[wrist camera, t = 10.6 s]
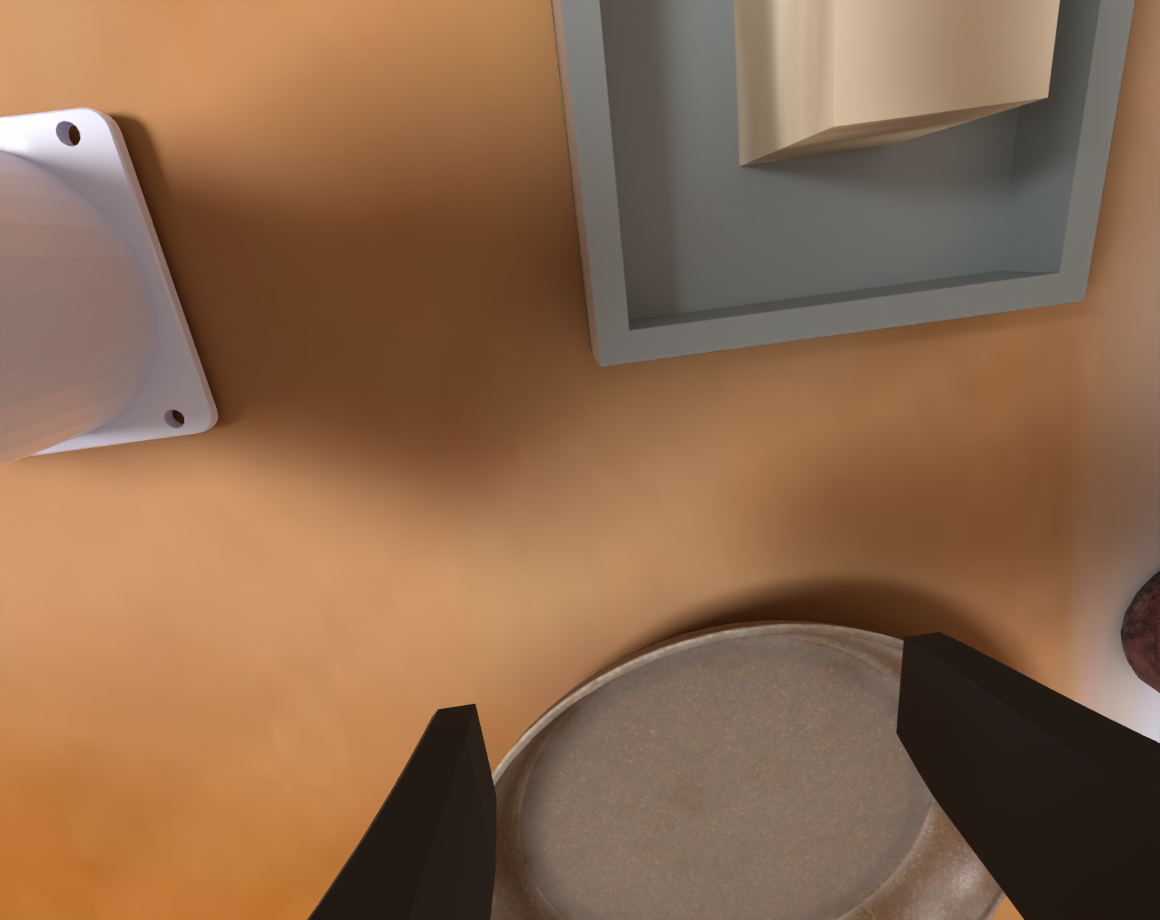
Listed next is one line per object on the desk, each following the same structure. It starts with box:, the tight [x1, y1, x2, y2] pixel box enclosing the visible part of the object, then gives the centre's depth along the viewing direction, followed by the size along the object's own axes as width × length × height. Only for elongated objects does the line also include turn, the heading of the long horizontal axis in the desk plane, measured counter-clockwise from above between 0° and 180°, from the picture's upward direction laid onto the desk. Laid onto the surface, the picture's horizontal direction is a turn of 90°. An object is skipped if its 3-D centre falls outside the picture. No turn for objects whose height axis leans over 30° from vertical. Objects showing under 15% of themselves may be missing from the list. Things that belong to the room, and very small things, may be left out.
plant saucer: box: [490, 620, 1006, 920], centre depth 22 cm, size 21×21×3 cm
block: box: [734, 0, 1060, 166], centre depth 12 cm, size 4×4×5 cm
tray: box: [551, 0, 1135, 367], centre depth 14 cm, size 13×13×2 cm
